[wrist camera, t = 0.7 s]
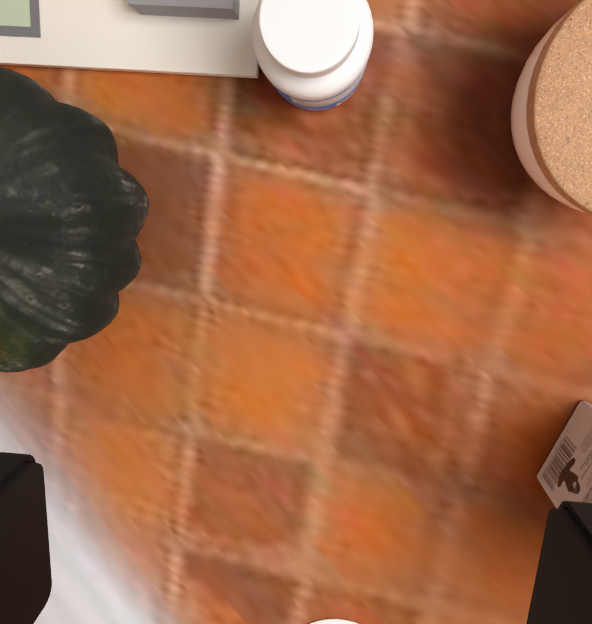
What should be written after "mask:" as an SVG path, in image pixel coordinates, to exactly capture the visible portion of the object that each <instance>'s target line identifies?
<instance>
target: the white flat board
mask: <svg viewBox="0 0 592 624" xmlns="http://www.w3.org/2000/svg"><path fill="white" fill-rule="evenodd" d="M258 3H259V0H0V65H12V66H31V67H50V68H69V69H88V70H107V71H126V72H145V73H164V74H183V75H202V76H221V77H240V78H258V73H259V64H258V61H257V59H256V56H255V53H254V49H253V44H252V23H253V17H254V14H255V11H256V8H257V5H258Z"/></svg>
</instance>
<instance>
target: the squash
mask: <svg viewBox="0 0 592 624" xmlns="http://www.w3.org/2000/svg"><path fill="white" fill-rule="evenodd" d="M148 207H149V199H148V197H147V194H146V192H145V190H144V189H143V187H142V186H141V185H140V184H139V182H138V181H137V180H136V179H135V178H134V177H133V176H132V175H131V174H129V173H128V172H127V171H125V170H124V169H122V168H120V167H119V165H118V152H117V146H116V142H115V139H114V136H113V134H112V132H111V131H110V129H109V128H108V126H107V125H106V124H105V123H104V122H103V121H102V120H100V119H98V118H97V117H95V116H93V115H91V114H89V113H87V112H85V111H83V110H82V109H80V108H77V107H74V106H71V105H68V104H64V103H59V102H57V101H56V100H55V99H54V98H53V96H52V95H51V94H50V93H49V92H48V91H47V90H46V89H45V88H44V87H42V86H41V85H40V84H39V83H38V82H36V81H35V80H33V79H31V78H29V77H27V76H25V75H22V74H19V73H17V72H15V71H13V70H10V69H6V68H0V372H20V371H25V370H28V369H33V368H37V367H41V366H44V365H46V364H48V363H49V362H51V361H52V360H54V359H55V358H56V356H57V355H58V354H59V353H60V352H61V351H62V350H63V349H64V348H65V347H66V346H67V345H68V344H69V343H72V342H76V341H80V340H84V339H87V338H89V337H91V336H93V335H95V334H96V333H98V332H99V331H101V330H102V329H103V328H105V327H106V326H107V325H109V324H110V323H111V322H112V320H113V319H114V318H115V316H116V315H117V313H118V308H119V295H118V292H119V291H120V290H122V289H123V288H125V287H126V286H127V285H128V284H129V283H130V282H131V281H132V280H133V279H134V278H135V277H136V276H137V274H138V272H139V270H140V267H141V255H140V252H139V248H138V246H137V243H136V241H135V238H136V236H137V235H138V233H139V232H140V230H141V228H142V226H143V224H144V221H145V219H146V216H147V214H148Z"/></svg>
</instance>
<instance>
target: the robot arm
mask: <svg viewBox="0 0 592 624" xmlns="http://www.w3.org/2000/svg"><path fill="white" fill-rule="evenodd" d="M51 586H52V580H51V566H50V553H49V539H48V525H47V512H46V498H45V485H44V472H43V467H42V465H41V464H39V463H36V462H35V459H34V457H33V456H31V455H27V454H16V453H4V452H1V453H0V624H33V623H34V622H35V620H36V619H37V617H38V616H39V614H40V613H41V611H42V610H43V608H44V607H45V605H46V603H47V601H48V598H49V596H50V592H51ZM527 624H592V503H586V502H574V501H563V502H561V504H560V505H559V508H552V509H551V510H550V512H549V515H548V519H547V524H546V529H545V534H544V539H543V544H542V549H541V554H540V559H539V564H538V569H537V574H536V579H535V584H534V589H533V594H532V599H531V604H530V609H529V614H528V619H527Z"/></svg>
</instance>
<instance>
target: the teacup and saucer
mask: <svg viewBox="0 0 592 624" xmlns="http://www.w3.org/2000/svg"><path fill="white" fill-rule="evenodd" d="M310 624H358V623H356V622H353V621H349V620H344V619H324V620H319V621H315V622H312V623H310Z"/></svg>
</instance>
